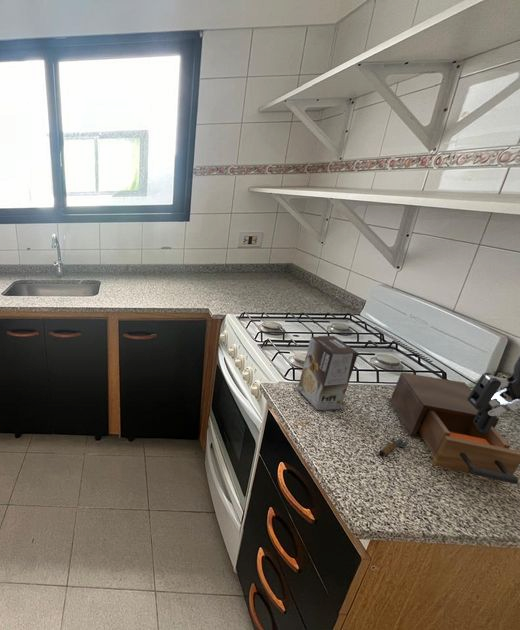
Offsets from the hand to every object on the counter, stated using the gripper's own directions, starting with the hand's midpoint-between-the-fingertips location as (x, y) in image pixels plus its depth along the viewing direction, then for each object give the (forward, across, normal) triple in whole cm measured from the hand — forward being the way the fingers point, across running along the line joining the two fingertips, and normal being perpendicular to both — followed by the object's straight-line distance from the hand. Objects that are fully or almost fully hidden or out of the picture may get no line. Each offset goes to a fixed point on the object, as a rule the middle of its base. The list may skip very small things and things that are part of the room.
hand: (513, 436), depth 58 cm
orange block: (+12, +1, +9) cm, 15 cm away
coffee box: (+14, -22, +22) cm, 34 cm away
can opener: (+14, -10, +8) cm, 19 cm away
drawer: (+13, +1, +8) cm, 15 cm away
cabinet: (+14, +1, +21) cm, 25 cm away
